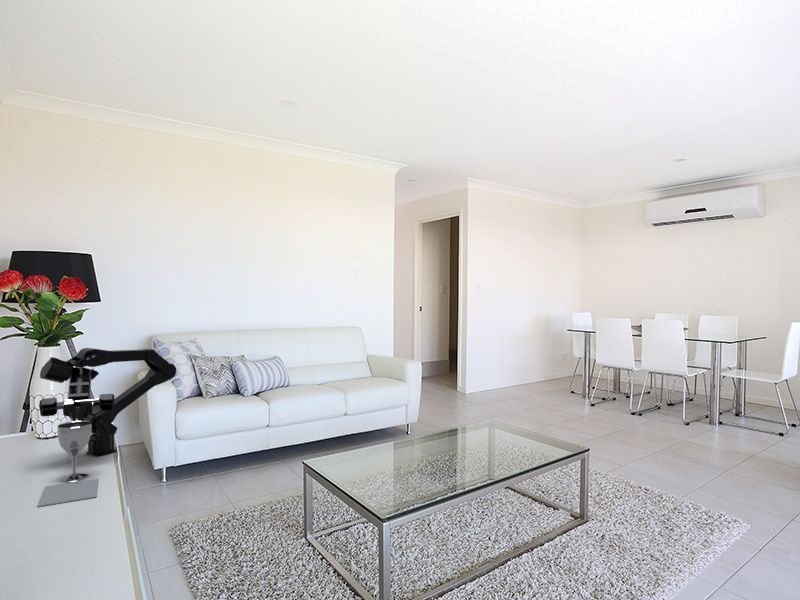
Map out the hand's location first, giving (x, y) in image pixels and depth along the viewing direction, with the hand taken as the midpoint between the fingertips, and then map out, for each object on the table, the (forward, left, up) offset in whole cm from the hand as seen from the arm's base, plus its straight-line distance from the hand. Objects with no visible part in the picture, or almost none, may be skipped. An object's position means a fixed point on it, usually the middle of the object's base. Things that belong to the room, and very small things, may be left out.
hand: (76, 428), depth 140 cm
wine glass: (+4, +5, -12) cm, 14 cm away
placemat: (+11, +15, -12) cm, 22 cm away
